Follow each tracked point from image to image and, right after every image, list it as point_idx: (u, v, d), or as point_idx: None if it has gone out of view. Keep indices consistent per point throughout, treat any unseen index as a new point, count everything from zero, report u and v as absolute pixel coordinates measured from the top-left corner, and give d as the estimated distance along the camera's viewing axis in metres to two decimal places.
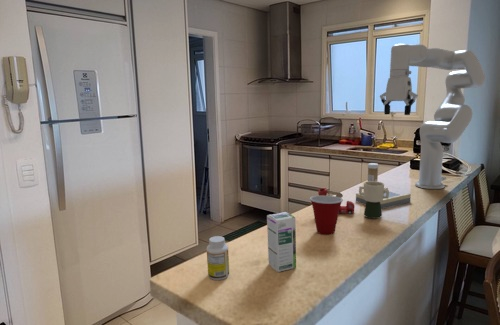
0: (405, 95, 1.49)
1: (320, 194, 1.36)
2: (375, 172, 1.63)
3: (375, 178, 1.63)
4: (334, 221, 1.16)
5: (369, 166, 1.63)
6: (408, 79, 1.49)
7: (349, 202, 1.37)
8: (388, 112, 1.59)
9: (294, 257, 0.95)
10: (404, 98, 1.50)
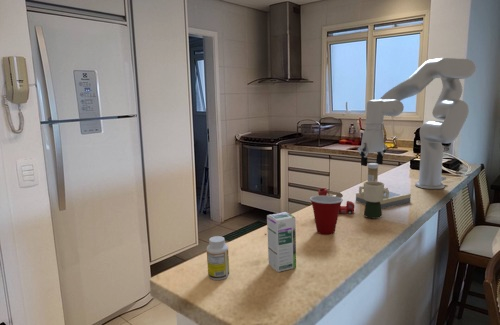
0: (383, 146, 1.63)
1: (320, 194, 1.36)
2: (375, 172, 1.63)
3: (375, 178, 1.63)
4: (334, 221, 1.16)
5: (369, 166, 1.63)
6: None
7: (349, 202, 1.37)
8: None
9: (294, 257, 0.95)
10: (382, 149, 1.63)
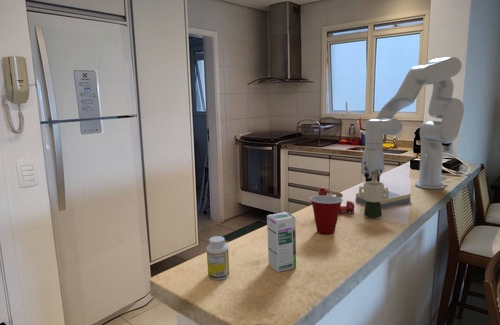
0: (383, 165, 1.64)
1: (320, 194, 1.36)
2: (375, 172, 1.63)
3: (375, 178, 1.63)
4: (334, 221, 1.16)
5: None
6: None
7: (349, 202, 1.37)
8: None
9: (294, 257, 0.95)
10: (382, 167, 1.65)
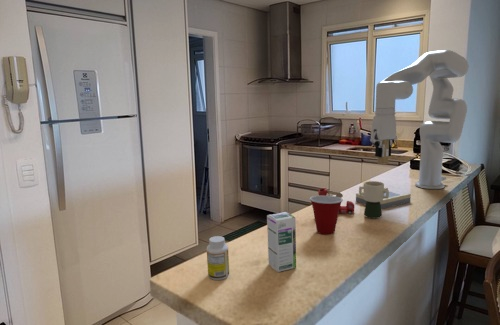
0: (395, 133, 1.48)
1: (320, 194, 1.36)
2: (386, 141, 1.46)
3: (386, 148, 1.46)
4: (334, 221, 1.16)
5: None
6: None
7: (349, 202, 1.37)
8: None
9: (294, 257, 0.95)
10: (395, 136, 1.48)
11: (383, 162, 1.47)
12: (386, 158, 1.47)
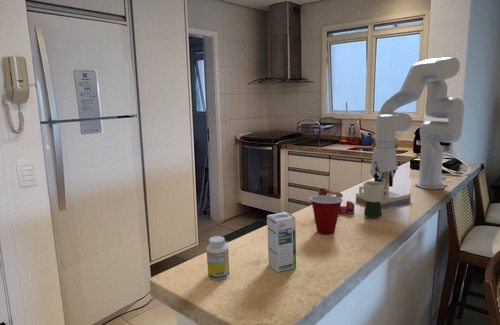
0: (395, 165, 1.49)
1: (320, 194, 1.36)
2: (387, 175, 1.47)
3: (387, 182, 1.47)
4: (334, 221, 1.16)
5: None
6: None
7: (349, 202, 1.37)
8: None
9: (294, 257, 0.95)
10: (395, 168, 1.49)
11: None
12: None
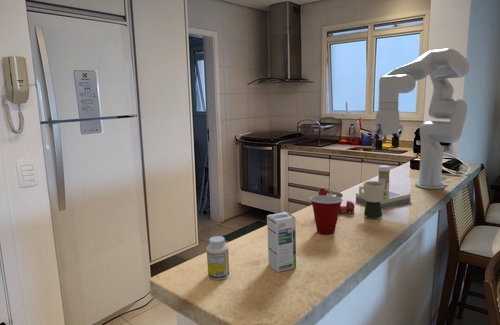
0: (399, 127, 1.47)
1: (320, 194, 1.36)
2: (387, 175, 1.47)
3: (387, 182, 1.47)
4: (334, 221, 1.16)
5: (380, 169, 1.47)
6: None
7: (349, 202, 1.37)
8: None
9: (294, 257, 0.95)
10: (398, 130, 1.47)
11: None
12: None
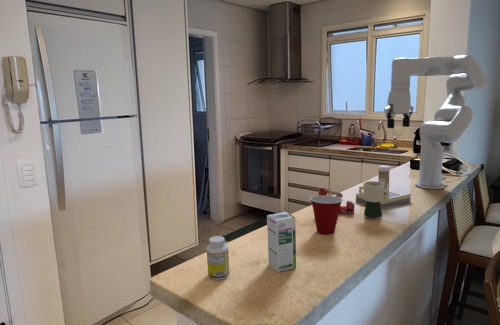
0: (410, 108, 1.55)
1: (320, 194, 1.36)
2: (387, 175, 1.47)
3: (386, 182, 1.47)
4: (334, 221, 1.16)
5: (380, 169, 1.47)
6: None
7: (349, 202, 1.37)
8: None
9: (294, 257, 0.95)
10: (409, 111, 1.55)
11: None
12: None
